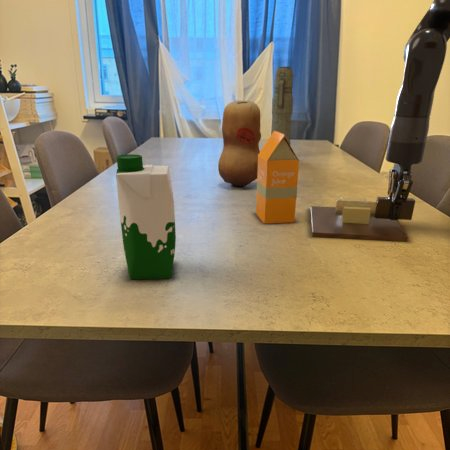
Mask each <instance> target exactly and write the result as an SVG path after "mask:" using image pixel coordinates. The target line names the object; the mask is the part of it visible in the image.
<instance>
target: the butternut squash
mask: <svg viewBox="0 0 450 450" xmlns="http://www.w3.org/2000/svg"><path fill="white" fill-rule="evenodd" d="M222 115H223V116H222V124H221V134H222V140H223V142H222V143H223V146H222V150H221V153H220V156H219V158H218V164H217V165H218V166H217V167H218V168H217V169H218V174H219V176H220V178H221V179H222V180H223V181H224V182H225V184H230V185H232V186H235V187H247V186H248V185H250V184H251V183H252V182H255V181H257V172H258V154H259V153H260V151H261V149H260V146H259V143H260V141H261V138H262V133H261V109H260V106H258V105H257V103H256V102H254V101H252V100H235V101H231V102H228V103H227V104H226V106H225V107H224V109H223V113H222Z"/></svg>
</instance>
